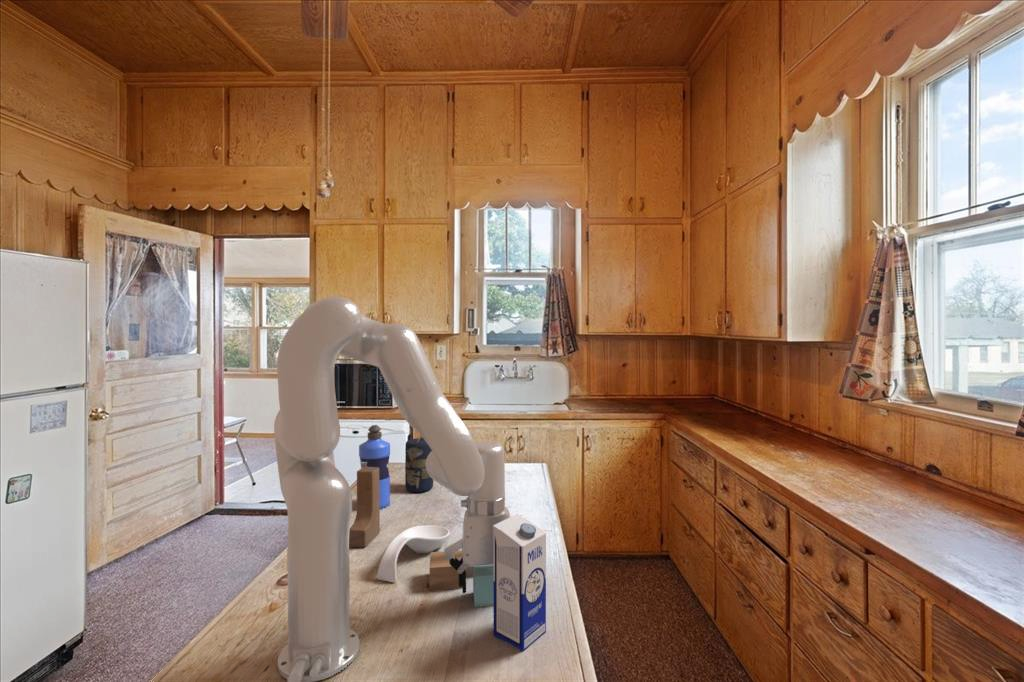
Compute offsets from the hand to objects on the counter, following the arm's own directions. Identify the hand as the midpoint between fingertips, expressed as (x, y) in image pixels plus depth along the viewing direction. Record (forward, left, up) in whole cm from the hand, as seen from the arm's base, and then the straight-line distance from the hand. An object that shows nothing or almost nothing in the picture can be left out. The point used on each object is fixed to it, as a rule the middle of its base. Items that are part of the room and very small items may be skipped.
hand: (487, 587), depth 95 cm
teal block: (0, 0, -2) cm, 2 cm away
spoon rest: (+20, +16, -3) cm, 26 cm away
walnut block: (+8, +8, -2) cm, 12 cm away
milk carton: (-12, -5, -2) cm, 13 cm away
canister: (+69, +17, -2) cm, 71 cm away
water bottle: (+56, +30, -2) cm, 64 cm away
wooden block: (+31, +29, -2) cm, 43 cm away
